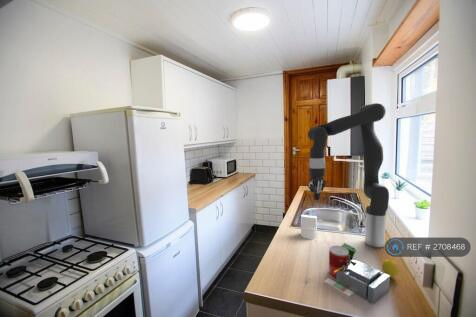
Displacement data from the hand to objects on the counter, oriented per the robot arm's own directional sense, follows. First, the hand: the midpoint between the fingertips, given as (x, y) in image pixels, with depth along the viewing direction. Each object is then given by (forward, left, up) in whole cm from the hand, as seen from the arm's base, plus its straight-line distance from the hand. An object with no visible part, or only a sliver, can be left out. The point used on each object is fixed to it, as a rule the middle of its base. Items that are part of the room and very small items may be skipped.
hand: (316, 199), depth 119 cm
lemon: (-5, +33, -27) cm, 43 cm away
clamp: (-2, +14, -27) cm, 31 cm away
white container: (-10, -13, -27) cm, 32 cm away
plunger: (+13, +27, -27) cm, 40 cm away
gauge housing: (+10, +29, -27) cm, 41 cm away
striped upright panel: (+18, +24, -27) cm, 40 cm away
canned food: (+10, +19, -27) cm, 35 cm away
